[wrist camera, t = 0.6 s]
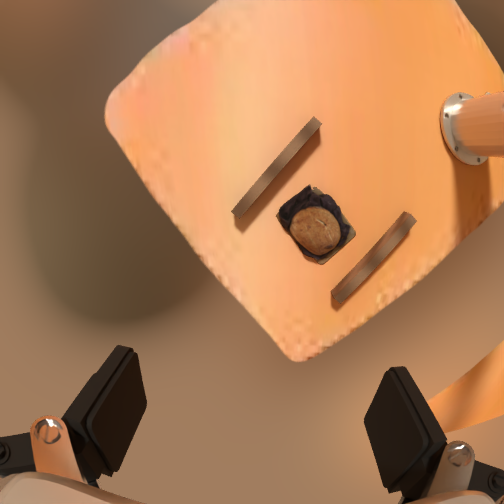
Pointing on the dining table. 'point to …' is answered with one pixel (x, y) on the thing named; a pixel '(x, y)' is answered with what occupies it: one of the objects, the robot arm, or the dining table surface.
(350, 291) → the shelf lane
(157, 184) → the dining table surface
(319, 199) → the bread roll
